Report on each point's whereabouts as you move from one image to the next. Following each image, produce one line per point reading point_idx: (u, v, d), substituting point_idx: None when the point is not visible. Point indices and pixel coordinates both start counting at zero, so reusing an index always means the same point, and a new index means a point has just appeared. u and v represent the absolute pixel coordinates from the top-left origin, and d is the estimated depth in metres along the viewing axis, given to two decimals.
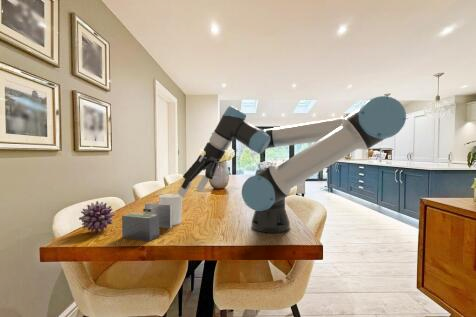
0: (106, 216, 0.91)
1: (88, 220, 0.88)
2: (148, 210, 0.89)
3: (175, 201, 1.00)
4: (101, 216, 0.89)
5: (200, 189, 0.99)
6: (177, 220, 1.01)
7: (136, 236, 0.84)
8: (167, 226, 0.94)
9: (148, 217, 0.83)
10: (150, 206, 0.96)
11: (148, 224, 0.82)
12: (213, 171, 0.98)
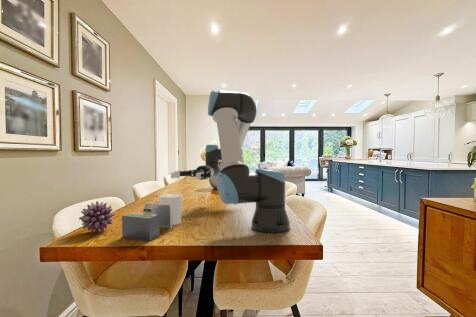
0: (106, 216, 0.91)
1: (88, 220, 0.88)
2: (148, 210, 0.89)
3: (175, 201, 1.00)
4: (101, 216, 0.89)
5: None
6: (177, 220, 1.01)
7: (136, 236, 0.84)
8: (167, 226, 0.94)
9: (148, 217, 0.83)
10: (150, 206, 0.96)
11: (148, 224, 0.82)
12: None
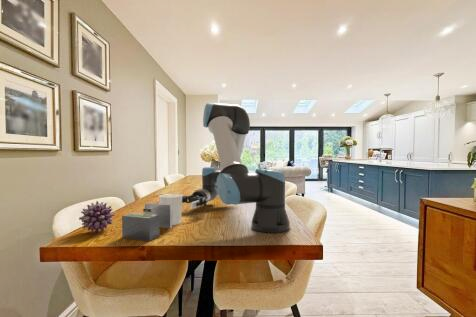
0: (106, 216, 0.91)
1: (88, 220, 0.88)
2: (148, 210, 0.89)
3: (175, 201, 1.00)
4: (101, 216, 0.89)
5: None
6: (177, 220, 1.01)
7: (136, 236, 0.84)
8: (167, 226, 0.94)
9: (148, 217, 0.83)
10: (150, 206, 0.96)
11: (148, 224, 0.82)
12: (203, 199, 1.17)
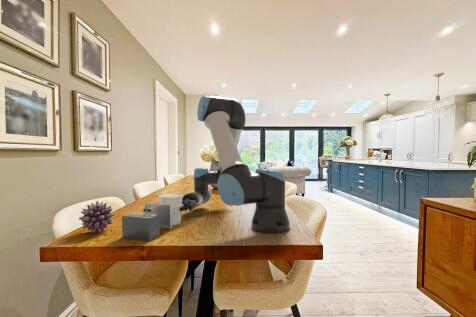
0: (106, 216, 0.91)
1: (88, 220, 0.88)
2: (148, 210, 0.89)
3: (175, 201, 1.00)
4: (101, 216, 0.89)
5: None
6: (177, 220, 1.01)
7: (136, 236, 0.84)
8: (167, 226, 0.94)
9: (148, 217, 0.83)
10: (150, 206, 0.96)
11: (148, 224, 0.82)
12: (190, 203, 1.07)
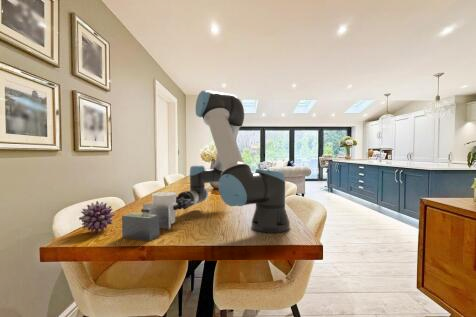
0: (106, 216, 0.91)
1: (88, 220, 0.88)
2: (146, 211, 0.88)
3: (168, 199, 0.96)
4: (101, 216, 0.89)
5: None
6: (171, 219, 0.98)
7: (136, 236, 0.84)
8: (165, 227, 0.93)
9: (148, 217, 0.83)
10: (148, 207, 0.95)
11: (148, 224, 0.82)
12: (185, 202, 1.03)
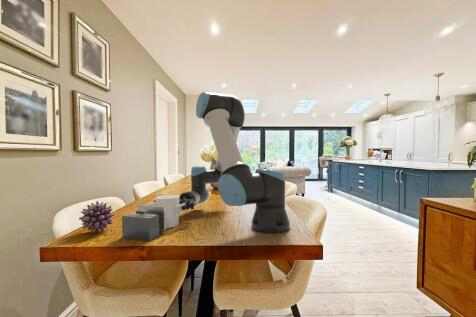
0: (106, 216, 0.91)
1: (88, 220, 0.88)
2: (141, 212, 0.86)
3: (172, 202, 0.97)
4: (101, 216, 0.89)
5: None
6: (175, 222, 0.99)
7: (136, 236, 0.84)
8: (161, 229, 0.90)
9: (148, 217, 0.83)
10: (143, 208, 0.93)
11: (148, 224, 0.82)
12: (191, 202, 1.05)
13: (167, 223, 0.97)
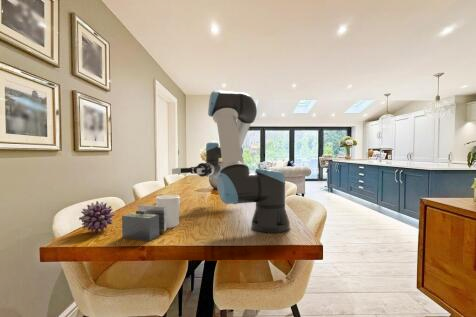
0: (106, 216, 0.91)
1: (88, 220, 0.88)
2: (141, 212, 0.86)
3: (173, 202, 0.97)
4: (101, 216, 0.89)
5: None
6: (175, 222, 0.99)
7: (136, 236, 0.84)
8: (161, 229, 0.90)
9: (148, 217, 0.83)
10: (143, 208, 0.93)
11: (148, 224, 0.82)
12: None
13: (167, 223, 0.97)
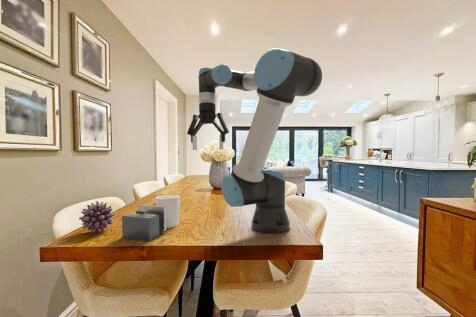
0: (106, 216, 0.91)
1: (88, 220, 0.88)
2: (141, 212, 0.86)
3: (173, 202, 0.97)
4: (101, 216, 0.89)
5: None
6: (175, 222, 0.99)
7: (136, 236, 0.84)
8: (161, 229, 0.90)
9: (148, 217, 0.83)
10: (143, 208, 0.93)
11: (148, 224, 0.82)
12: (222, 126, 1.07)
13: (167, 223, 0.97)
